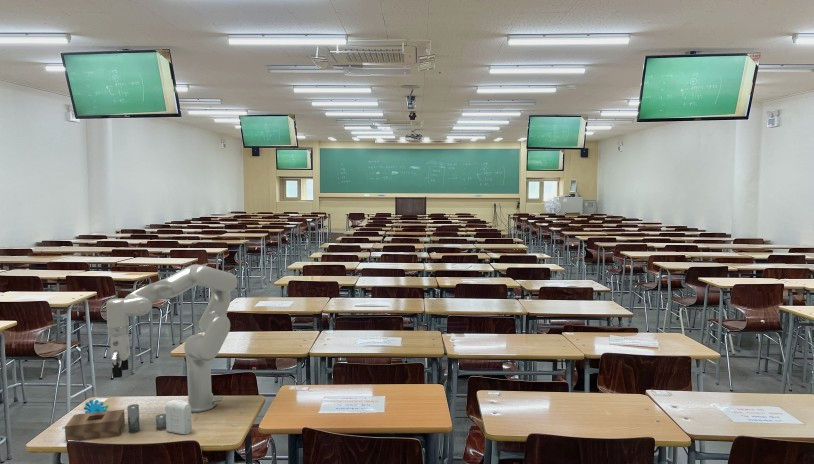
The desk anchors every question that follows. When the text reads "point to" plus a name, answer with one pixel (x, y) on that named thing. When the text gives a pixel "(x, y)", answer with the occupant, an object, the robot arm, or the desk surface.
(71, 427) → the hole block
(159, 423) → the short pin
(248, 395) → the desk surface
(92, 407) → the gear
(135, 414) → the long pin
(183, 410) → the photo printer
